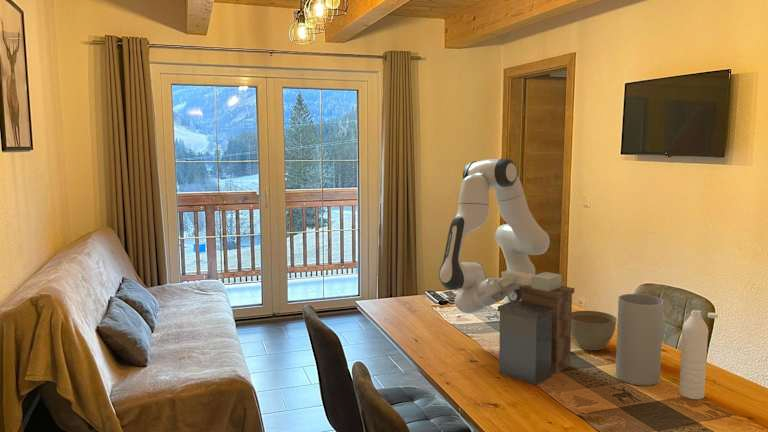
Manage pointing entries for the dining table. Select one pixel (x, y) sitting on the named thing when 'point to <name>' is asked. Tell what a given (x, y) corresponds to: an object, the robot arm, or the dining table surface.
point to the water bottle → (694, 356)
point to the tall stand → (555, 320)
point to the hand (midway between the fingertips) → (521, 277)
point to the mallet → (535, 279)
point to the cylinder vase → (639, 339)
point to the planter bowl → (592, 329)
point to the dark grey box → (525, 341)
